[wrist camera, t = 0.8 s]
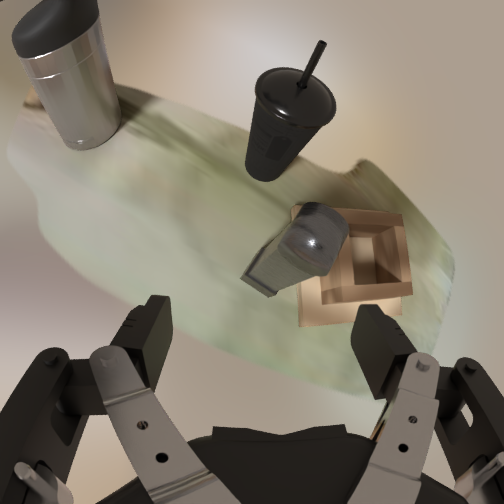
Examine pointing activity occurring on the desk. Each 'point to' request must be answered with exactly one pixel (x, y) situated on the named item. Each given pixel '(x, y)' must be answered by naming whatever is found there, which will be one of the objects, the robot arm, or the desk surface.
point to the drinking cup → (286, 116)
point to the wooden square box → (359, 271)
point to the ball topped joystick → (299, 250)
